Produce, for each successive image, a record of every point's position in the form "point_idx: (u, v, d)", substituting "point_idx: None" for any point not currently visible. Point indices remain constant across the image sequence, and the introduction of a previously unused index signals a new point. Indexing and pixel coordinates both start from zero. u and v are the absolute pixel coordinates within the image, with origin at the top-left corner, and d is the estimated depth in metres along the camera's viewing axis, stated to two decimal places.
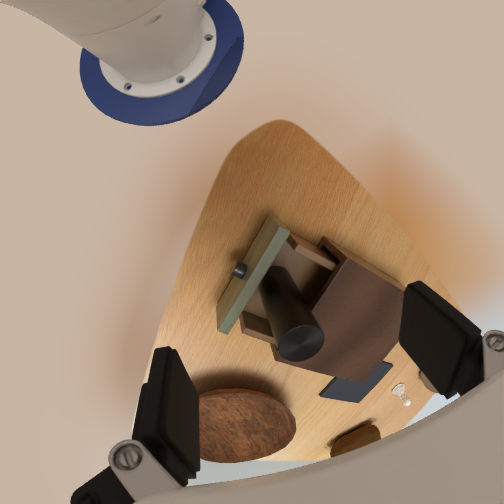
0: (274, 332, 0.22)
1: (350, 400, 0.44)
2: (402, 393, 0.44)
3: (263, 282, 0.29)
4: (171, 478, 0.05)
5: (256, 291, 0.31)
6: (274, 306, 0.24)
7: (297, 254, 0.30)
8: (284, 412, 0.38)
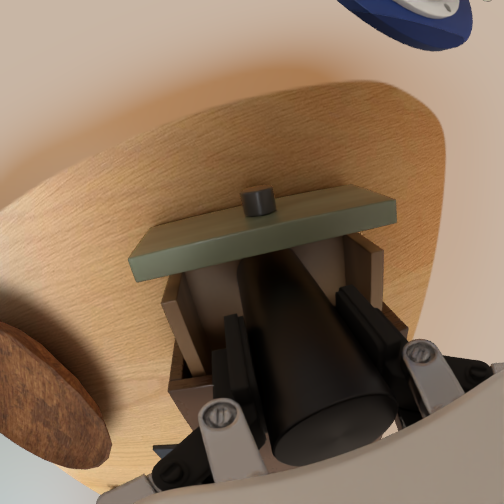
0: (296, 368, 0.07)
1: None
2: None
3: (274, 257, 0.14)
4: (255, 447, 0.05)
5: (232, 262, 0.16)
6: (307, 309, 0.09)
7: (332, 267, 0.17)
8: (99, 440, 0.19)
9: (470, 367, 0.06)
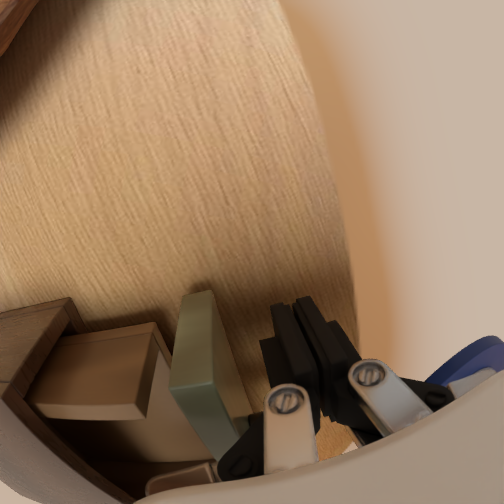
0: None
1: None
2: None
3: None
4: (313, 438, 0.05)
5: None
6: None
7: (185, 455, 0.13)
8: None
9: (427, 392, 0.06)
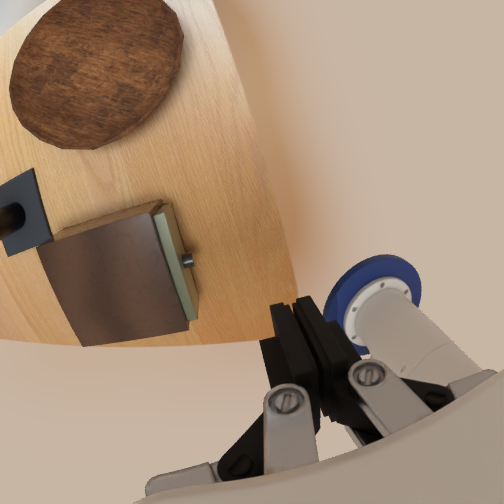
0: None
1: None
2: None
3: (16, 217, 0.26)
4: (313, 438, 0.05)
5: None
6: None
7: None
8: (53, 131, 0.23)
9: (427, 392, 0.06)
